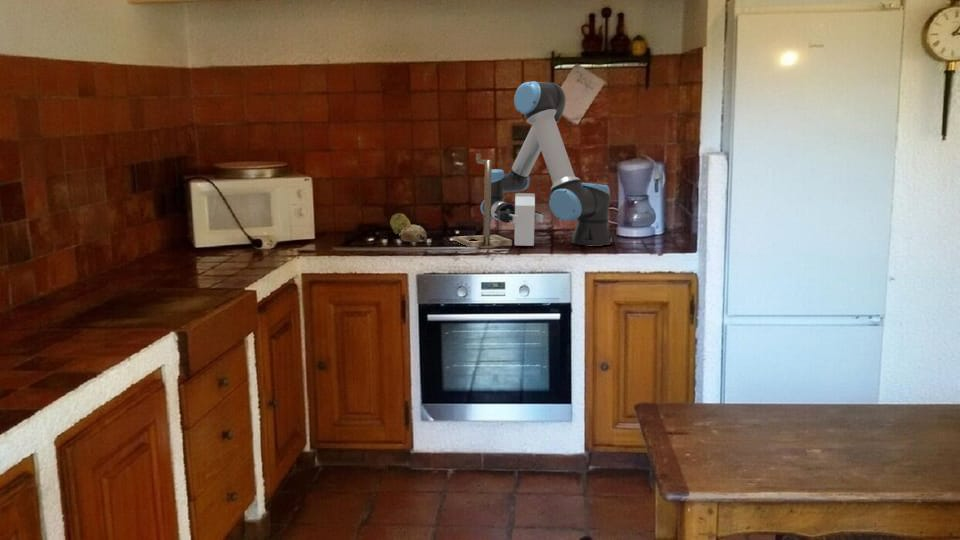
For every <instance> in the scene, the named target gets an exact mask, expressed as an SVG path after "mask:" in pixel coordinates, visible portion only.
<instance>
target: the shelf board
mask: <svg viewBox="0 0 960 540" xmlns="http://www.w3.org/2000/svg"><path fill="white" fill-rule="evenodd" d="M452 237H453V240H455V241H457V242H459V243H461V244H463V245H466V246H477V247H476V248H480V247H479V245H483V238H484V234H483V235H464V236H452ZM471 239H475V240H477V241H469V240H471ZM453 240H452V241H453ZM490 244H492V245H494V247H506V246H512V245H513V239H509V238H507V237H504V236H501V235H498V234H490Z"/></svg>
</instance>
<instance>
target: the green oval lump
mask: <svg viewBox="0 0 960 540" xmlns="http://www.w3.org/2000/svg"><path fill="white" fill-rule="evenodd" d="M389 224H390V228H391V229H392V231H393V233H394V234H395V235H397V234H399V233H401V230H403V229H404V228H405V227H406V226H408V225H412V224H411V221H410V219H409V218H408V217H407V216H406V215H405V214H404V213H400V212H398V213H395V214H393V215H392V216H391V217H390V220H389Z"/></svg>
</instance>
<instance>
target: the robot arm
mask: <svg viewBox="0 0 960 540" xmlns="http://www.w3.org/2000/svg"><path fill="white" fill-rule="evenodd" d="M513 98H514V99H513V103H514V107H515V109H516V111H517V112H519V113H520V114H521V115H524V118H525V120H526V123H528V124H529V125H531V127H530V129H529V131H528V133H527V136H526V138H525V140H524V142H523V144H522V146H521V148H520V149H519V150H520V151H518V153H517V156H516V158H515V160H514V163H513V164H512V166H511V168H510V170H509V172H508V173H505V172H504V170H503V169H498V168H497V169H496V168H495V169H493V168H492V169H491V216H490V220H491V219H492V220H495V221H499V223H506V224H507V223H508V224H510V223H514V224H515V223H518V222H519V216H517V215H515V204H512V203H510V202H507V201H504V199H505V198H504V197H505V196H504V193H515V192H516V193H518V192H522V191H525V190H527V189H528V188H529V186H530V182H531V181H530V180H531V179H530V176H529V175H530V174H531V172H532V170H533V167H534V166H535V163H536V161H537V160H538V158H539V156H540V154H541V153H542V157H543V160H544V162H545V165H546V168H547V171H548V172H547V173H548V175H549V176H550V179H551V183H552V185H551V187H550V192H551V194H550V196H549V198H550V199H549V202H548V203H549V204H548V205H549V208H550V212H551V213H552V214H553V215H554V216H555V218H557V219H559V220H562V221H568V222H569V221H575V220H577V224H576V227H575V230H574V232H573V235H572V238H571V240H572V241H571V244H573V243H574V244H573V245H575V244H579V245H601V244H607V243H610V242H612V243H613V237H612V233H611V230H610V229H611V228H610V226H609V214H610V213H609V212H610V198H611V194H610V193H611V192H610V187H609V186H608V185H606V184H598V183H589V182H582V180H581V179H580V178H579V177H576V176H575V172H574V170H573V168H572V167H573V166H572V164H571V162H570V159H569V156H568V155H569V154H568V152H567V151H566V147H565V144H564V141H563V139H562V135H561V133H560V130H559V127H558V124H557V123H559V121H560V120H561V117H562V116H563V114H564V111H565V109H566V108H565V107H566V102H567V101H566V95H565V92H564V89H563V88H562V87H561V85H559V84H557V83H556V82H552V81H550V82H549V81H548V82H547V81H546V82H545V81H534V80H533V81H526V82H523V83H521V84H520V85H519V86H518V87H517V89H516V90H515V94H514V97H513ZM483 182H485V179H483ZM480 212H481V214H482V215H483V216H484V200H483V201H482V202H481V204H480ZM534 222H538V223H543V222H544V215H543V214H542V213H541V212H539V211H537V210H535V220H534ZM579 245H578V246H579Z"/></svg>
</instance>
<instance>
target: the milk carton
mask: <svg viewBox="0 0 960 540" xmlns="http://www.w3.org/2000/svg"><path fill="white" fill-rule="evenodd" d="M514 193H515V192H514ZM514 198H515V199H514V206H515V215H517V216H519V222H518V223H514V230H513V231H514V236H513V237H514V239H513V240H514V241H513V242H514V246H524V247H525V246H527V247H529V246H530V247H531V246H532V247H533V246H534V245H535V221H534V220H535V211H536V194H535V193H524V192H523V193H521V192H520V193H518V192H516V193H515V196H514Z"/></svg>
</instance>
